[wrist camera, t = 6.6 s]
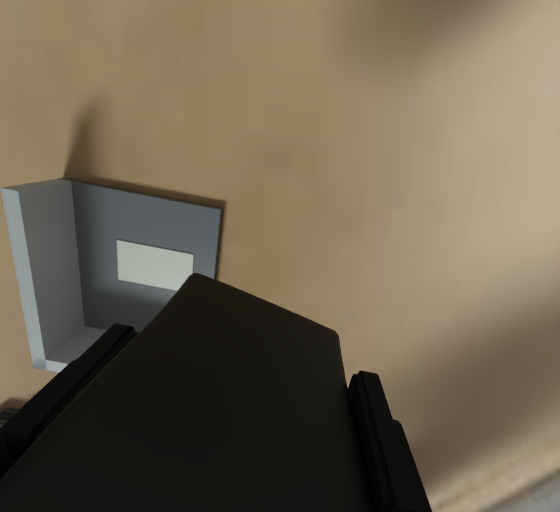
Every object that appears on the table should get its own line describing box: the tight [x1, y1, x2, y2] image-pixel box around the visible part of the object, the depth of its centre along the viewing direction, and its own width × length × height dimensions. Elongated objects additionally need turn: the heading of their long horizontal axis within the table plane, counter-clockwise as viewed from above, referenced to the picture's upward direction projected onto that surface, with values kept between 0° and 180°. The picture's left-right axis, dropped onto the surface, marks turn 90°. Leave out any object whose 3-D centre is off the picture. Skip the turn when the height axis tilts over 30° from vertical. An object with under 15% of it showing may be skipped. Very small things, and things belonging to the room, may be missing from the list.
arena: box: [1, 178, 223, 372], centre depth 26 cm, size 14×16×6 cm
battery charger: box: [0, 273, 376, 512], centre depth 7 cm, size 7×4×11 cm, turn 66°
